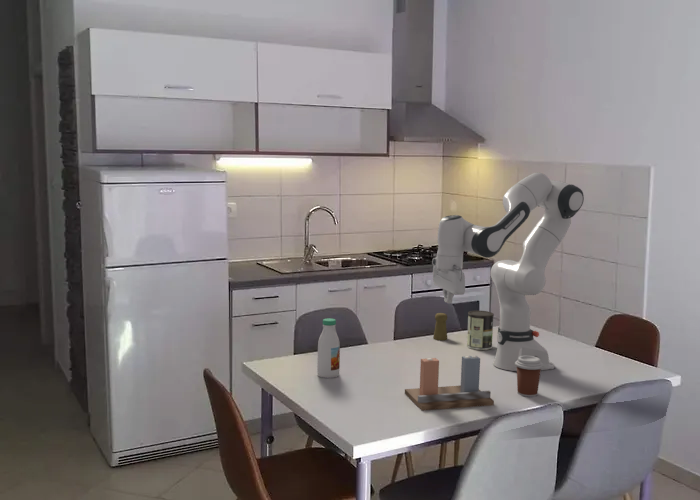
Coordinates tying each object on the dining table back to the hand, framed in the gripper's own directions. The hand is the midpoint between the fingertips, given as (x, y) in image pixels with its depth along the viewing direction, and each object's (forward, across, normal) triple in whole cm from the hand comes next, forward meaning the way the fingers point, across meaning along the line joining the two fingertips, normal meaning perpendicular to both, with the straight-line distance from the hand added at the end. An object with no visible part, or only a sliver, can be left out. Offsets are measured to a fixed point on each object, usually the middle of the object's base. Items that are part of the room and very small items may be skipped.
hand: (448, 302), depth 252 cm
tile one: (+26, -20, +14) cm, 36 cm away
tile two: (+26, -20, 0) cm, 33 cm away
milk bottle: (+27, +12, +39) cm, 49 cm away
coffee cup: (+27, -20, -21) cm, 40 cm away
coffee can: (+27, +37, -30) cm, 55 cm away
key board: (+27, -20, +7) cm, 34 cm away
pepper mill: (+27, +52, -19) cm, 62 cm away
